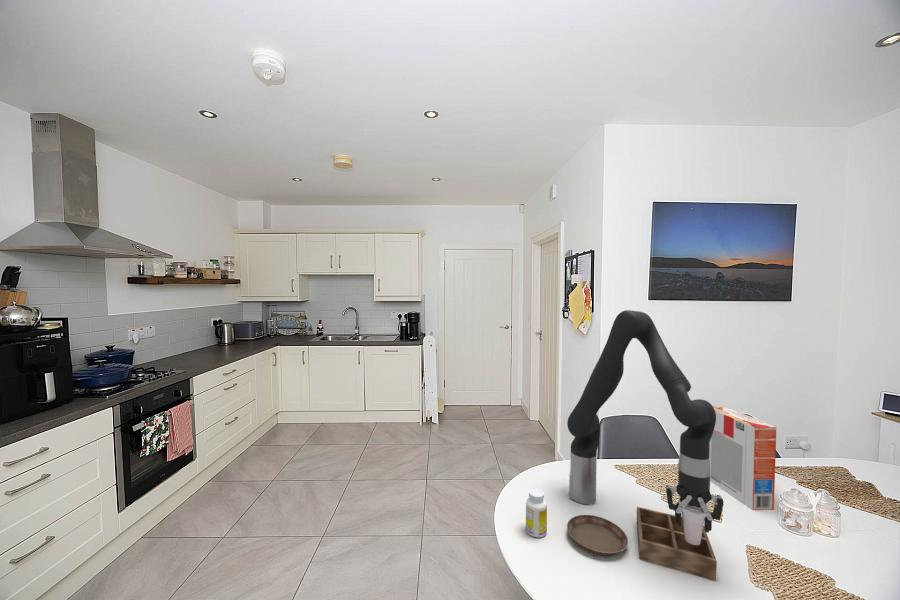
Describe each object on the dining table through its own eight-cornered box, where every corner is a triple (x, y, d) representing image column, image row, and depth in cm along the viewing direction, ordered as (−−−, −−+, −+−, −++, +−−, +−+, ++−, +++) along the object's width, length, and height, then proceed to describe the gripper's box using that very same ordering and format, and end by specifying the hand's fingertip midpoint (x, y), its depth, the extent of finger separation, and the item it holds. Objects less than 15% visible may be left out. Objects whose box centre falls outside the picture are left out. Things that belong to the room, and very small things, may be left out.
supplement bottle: (547, 527, 119) (548, 489, 119) (546, 540, 113) (546, 500, 113) (527, 523, 122) (527, 485, 121) (524, 535, 115) (524, 496, 115)
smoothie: (710, 550, 100) (711, 500, 100) (684, 546, 102) (685, 497, 101) (699, 534, 107) (700, 488, 106) (675, 532, 108) (676, 485, 108)
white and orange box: (773, 509, 130) (776, 427, 129) (752, 510, 130) (754, 427, 129) (722, 476, 153) (724, 406, 152) (704, 477, 153) (705, 406, 152)
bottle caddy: (639, 559, 106) (639, 540, 105) (636, 522, 122) (636, 506, 122) (716, 580, 98) (716, 561, 98) (701, 538, 115) (702, 521, 114)
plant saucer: (626, 532, 118) (627, 522, 118) (629, 570, 102) (629, 559, 102) (570, 517, 125) (570, 509, 125) (563, 551, 109) (563, 541, 109)
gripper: (666, 470, 103) (665, 528, 104) (728, 481, 97) (727, 543, 98) (663, 459, 110) (662, 513, 110) (721, 469, 104) (719, 526, 104)
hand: (692, 527), depth 104 cm, fingers closed on smoothie, 6 cm apart
